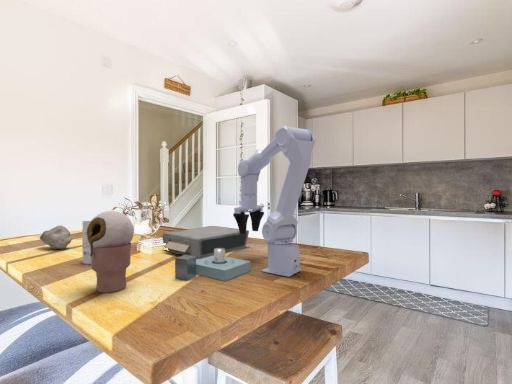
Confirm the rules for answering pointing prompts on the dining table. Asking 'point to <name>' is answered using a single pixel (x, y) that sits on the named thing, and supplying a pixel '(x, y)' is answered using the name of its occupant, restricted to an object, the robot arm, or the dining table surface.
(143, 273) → the dining table surface
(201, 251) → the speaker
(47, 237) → the stone
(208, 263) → the socket block
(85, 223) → the ink box
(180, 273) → the square bar
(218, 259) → the round bit
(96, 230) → the ice cream cone
